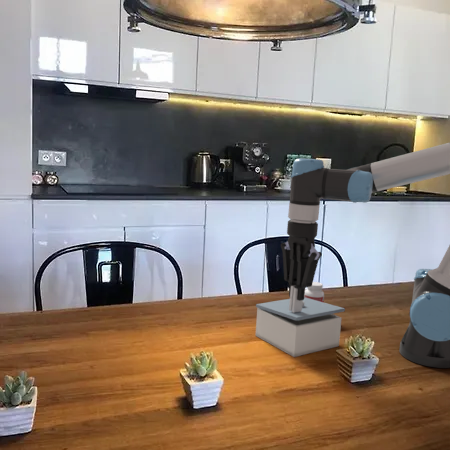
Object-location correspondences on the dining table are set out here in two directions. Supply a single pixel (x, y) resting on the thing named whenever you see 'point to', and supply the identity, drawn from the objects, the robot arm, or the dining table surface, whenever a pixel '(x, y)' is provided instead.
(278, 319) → the box
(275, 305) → the lid
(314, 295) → the pill bottle
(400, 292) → the dining table surface
